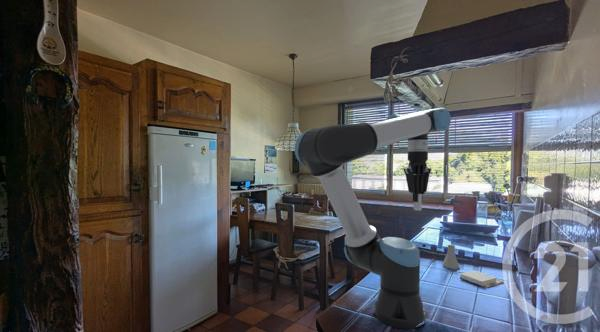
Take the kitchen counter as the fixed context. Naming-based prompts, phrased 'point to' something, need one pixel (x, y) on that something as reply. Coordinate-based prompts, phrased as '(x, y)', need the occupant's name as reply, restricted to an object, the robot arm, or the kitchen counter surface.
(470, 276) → the tile
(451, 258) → the flask
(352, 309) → the kitchen counter surface
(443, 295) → the kitchen counter surface
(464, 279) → the board
